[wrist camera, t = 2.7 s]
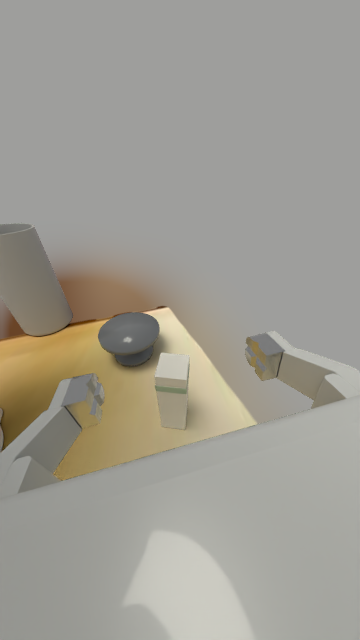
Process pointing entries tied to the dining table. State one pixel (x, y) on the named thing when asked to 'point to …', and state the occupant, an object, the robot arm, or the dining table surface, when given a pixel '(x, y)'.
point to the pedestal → (130, 337)
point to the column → (172, 389)
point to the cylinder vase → (30, 282)
